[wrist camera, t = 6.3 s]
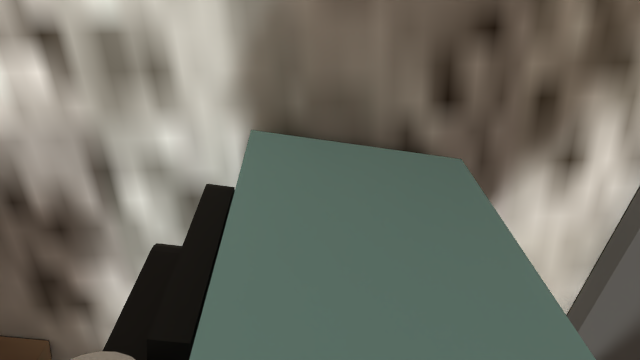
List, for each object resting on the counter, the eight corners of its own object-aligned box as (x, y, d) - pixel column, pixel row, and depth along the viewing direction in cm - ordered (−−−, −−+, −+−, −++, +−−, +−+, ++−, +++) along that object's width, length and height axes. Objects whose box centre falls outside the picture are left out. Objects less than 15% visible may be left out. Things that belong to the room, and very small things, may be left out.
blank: (461, 159, 10) (710, 530, 4) (408, 313, 12) (516, 713, 6) (251, 130, 10) (151, 497, 3) (234, 295, 12) (155, 708, 5)
